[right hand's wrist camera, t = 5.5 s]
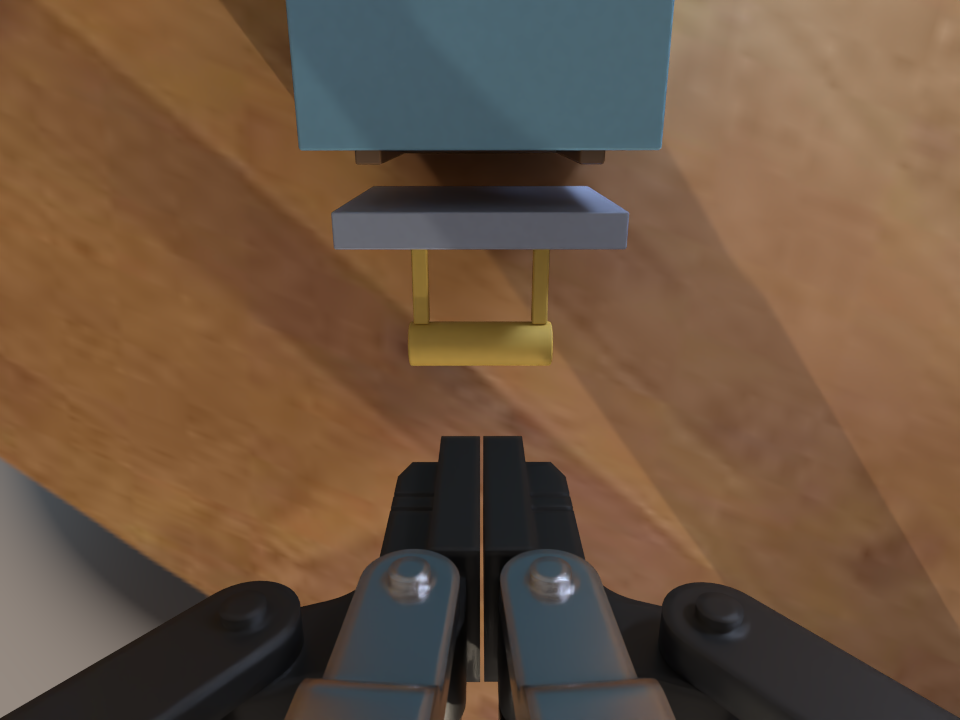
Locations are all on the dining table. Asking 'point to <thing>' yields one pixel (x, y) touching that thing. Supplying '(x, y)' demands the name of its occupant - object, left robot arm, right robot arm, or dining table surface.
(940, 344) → the dining table surface
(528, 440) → the dining table surface
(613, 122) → the cabinet
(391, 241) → the drawer
